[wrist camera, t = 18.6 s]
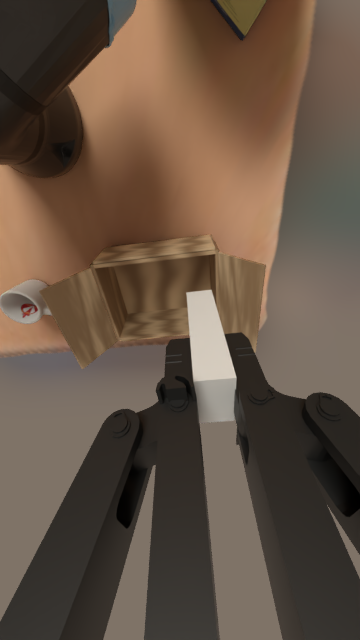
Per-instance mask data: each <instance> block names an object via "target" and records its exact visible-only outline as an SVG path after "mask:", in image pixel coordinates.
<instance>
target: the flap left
mask: <svg viewBox="0 0 360 640" xmlns="http://www.w3.org/2000/svg"><path fill="white" fill-rule="evenodd" d="M39 292H40V294H41V296H42V298H43V300H44V301H45V303H46V305H47V307H48V309H49V310H50V312H51V314H52V316H53V318H54V319H55V321H56V323H57V325H58V327H59V328H60V330H61V332H62V334H63V336H64V337H65V339H66V341H67V343H68V345H69V346H70V348H71V350H72V352H73V354H74V355H75V357H76V359H77V361H78V363H79V364H80V366H81V368H82V369H84V368H85V367H86V366H87V365H89V364H90V363H91V362H92V361H94V360H95V359H96V358H97V357H99V356H100V355H101V354H102V353H104V352H105V351H106V350H107V349H109V348H110V347H111V346H112V345H114V344H115V343H116V342H117V338H116V335H115V333H114V330H113V327H112V325H111V322H110V319H109V317H108V314H107V311H106V309H105V306H104V303H103V301H102V298H101V295H100V293H99V290H98V287H97V285H96V282H95V279H94V277H93V274H92V271H91V269H90V268H88V269H86V270H83V271H81V272H79V273H77V274H75V275H73V276H70V277H68V278H66V279H64V280H62V281H60V282H57V283H55V284H53V285H51V286H49V287H47V288H44V289H42V290H40V291H39Z"/></svg>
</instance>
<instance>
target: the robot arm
mask: <svg viewBox="0 0 360 640" xmlns="http://www.w3.org/2000/svg"><path fill="white" fill-rule="evenodd" d="M135 6H136V0H0V165H9V166H11V167H13V168H14V169H16V170H18V171H20V172H22V173H24V174H26V175H29V176H33V177H38V178H51V177H57V176H61V175H63V174H65V173H66V172H68V171H69V170H70V169H71V168H72V167H73V166H74V165H75V163H76V161H77V159H78V157H79V155H80V152H81V147H82V138H83V132H82V122H81V117H80V113H79V109H78V106H77V104H76V101H75V98H74V96H73V94H72V92H71V90H70V88H69V86H68V85H69V84H70V83H71V82H72V81H73V80H74V79H75V78H76V77H77V76H78V75H79V74H80V73H81V72H82V71H83V70H84V69H85V68H86V66H87V65H88V64H89V63H90V62H91V61H92V60H93V59H94V58H95V57H96V56H97V55H98V54H99V53H100V52H101V51H102V50H103V49H104V48H108V47H110V46H111V43H112V42H113V40H114V36H115V35H116V34H117V32H118V31H119V30H120V29H121V28H122V26H123V25H124V24H125V23H126V22H127V20H128V19H129V18H130V17H131V15H132V14H133V12H134V9H135ZM186 294H187V307H188V319H189V332H190V338H185V339H175V340H170V342H169V344H168V345H167V347H166V360H165V377H164V378H162V379H161V381H160V382H159V383H158V385H157V388H156V393H157V396H158V400H159V401H158V402H157V403H156V404H154V405H153V406H151V407H149V408H147V409H145V410H143V411H140V412H137V413H135V412H134V411H132V410H129V409H121V410H118V411H116V412H114V413H112V414H111V415H110V416H109V417H108V418H107V419H106V420H105V422H104V423H103V425H102V427H101V429H100V431H99V432H98V434H97V436H96V438H95V440H94V442H93V444H92V446H91V448H90V450H89V452H88V454H87V456H86V458H85V459H84V461H83V464H82V465H81V467H80V469H79V471H78V473H77V475H76V477H75V479H74V481H73V483H72V484H71V486H70V488H69V491H68V492H67V494H66V496H65V498H64V500H63V502H62V504H61V506H60V508H59V510H58V511H57V514H56V515H55V517H54V519H53V521H52V523H51V525H50V527H49V529H48V531H47V533H46V535H45V537H44V539H43V540H42V542H41V544H40V546H39V548H38V550H37V552H36V554H35V556H34V558H33V560H32V562H31V564H30V566H29V567H28V569H27V571H26V573H25V575H24V577H23V579H22V581H21V583H20V585H19V587H18V589H17V590H16V593H15V594H14V597H13V598H12V600H11V602H10V604H9V606H8V608H7V610H6V612H5V614H4V616H3V617H2V620H1V621H0V640H103V638H104V634H105V631H106V627H107V623H108V620H109V617H110V613H111V610H112V607H113V603H114V599H115V596H116V593H117V589H118V586H119V582H120V579H121V575H122V572H123V568H124V565H125V561H126V558H127V554H128V551H129V547H130V543H131V540H132V537H133V533H134V530H135V526H136V523H137V519H138V516H139V512H140V509H141V505H142V502H143V498H144V495H145V491H146V488H147V484H148V480H149V477H150V474H151V470H152V467H153V465H156V470H155V486H154V501H153V516H152V530H151V545H150V560H149V576H148V590H147V605H146V620H145V635H144V640H220V638H219V628H218V617H217V606H216V596H215V584H214V574H213V563H212V552H211V542H210V530H209V519H208V509H207V499H206V487H205V476H204V467H203V456H202V445H201V435H200V425H199V423H209V422H222V421H234V419H236V423H237V438H236V442H237V445H238V444H239V446H240V450H241V455H242V459H243V463H244V468H245V472H246V477H247V481H248V486H249V490H250V495H251V499H252V504H253V508H254V513H255V517H256V522H257V526H258V531H259V535H260V540H261V544H262V549H263V553H264V557H265V562H266V566H267V570H268V575H269V580H270V584H271V589H272V593H273V598H274V602H275V607H276V611H277V616H278V620H279V625H280V629H281V633H282V638H283V640H360V579H359V576H358V574H357V572H356V570H355V567H354V565H353V563H352V561H351V558H350V556H349V554H348V552H347V549H346V547H345V545H344V542H343V540H342V538H341V536H340V533H339V531H338V529H337V527H336V524H335V522H334V520H333V518H332V515H331V513H330V511H329V509H328V507H329V508H330V510H331V511H332V513H333V514H334V516H335V517H336V519H337V520H338V522H339V524H340V525H341V526H342V528H343V530H344V531H345V533H346V534H347V536H348V537H349V539H350V540H351V542H352V543H353V545H354V546H355V548H356V550H357V551H358V553H359V554H360V417H359V416H358V415H357V414H356V413H355V412H354V411H353V410H352V409H351V408H350V407H349V406H348V405H347V404H346V403H344V402H343V401H342V400H340V399H339V398H337V397H335V396H333V395H331V394H327V393H321V392H320V393H313V394H311V395H310V396H308V397H307V399H301V398H296V397H291V396H287V395H284V394H281V393H279V392H277V391H276V390H274V388H272V387H271V386H270V385H269V384H268V382H267V381H266V379H265V377H264V374H263V372H262V369H261V367H260V365H259V362H258V360H257V357H256V355H255V353H254V350H253V348H252V345H251V343H250V341H249V339H248V338H247V337H246V336H245V335H244V334H243V333H242V332H239V333H229V334H224V332H223V328H222V325H221V321H220V318H219V314H218V311H217V307H216V304H215V300H214V297H213V293H212V290H204V291H195V292H186ZM327 505H328V507H327Z"/></svg>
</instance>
